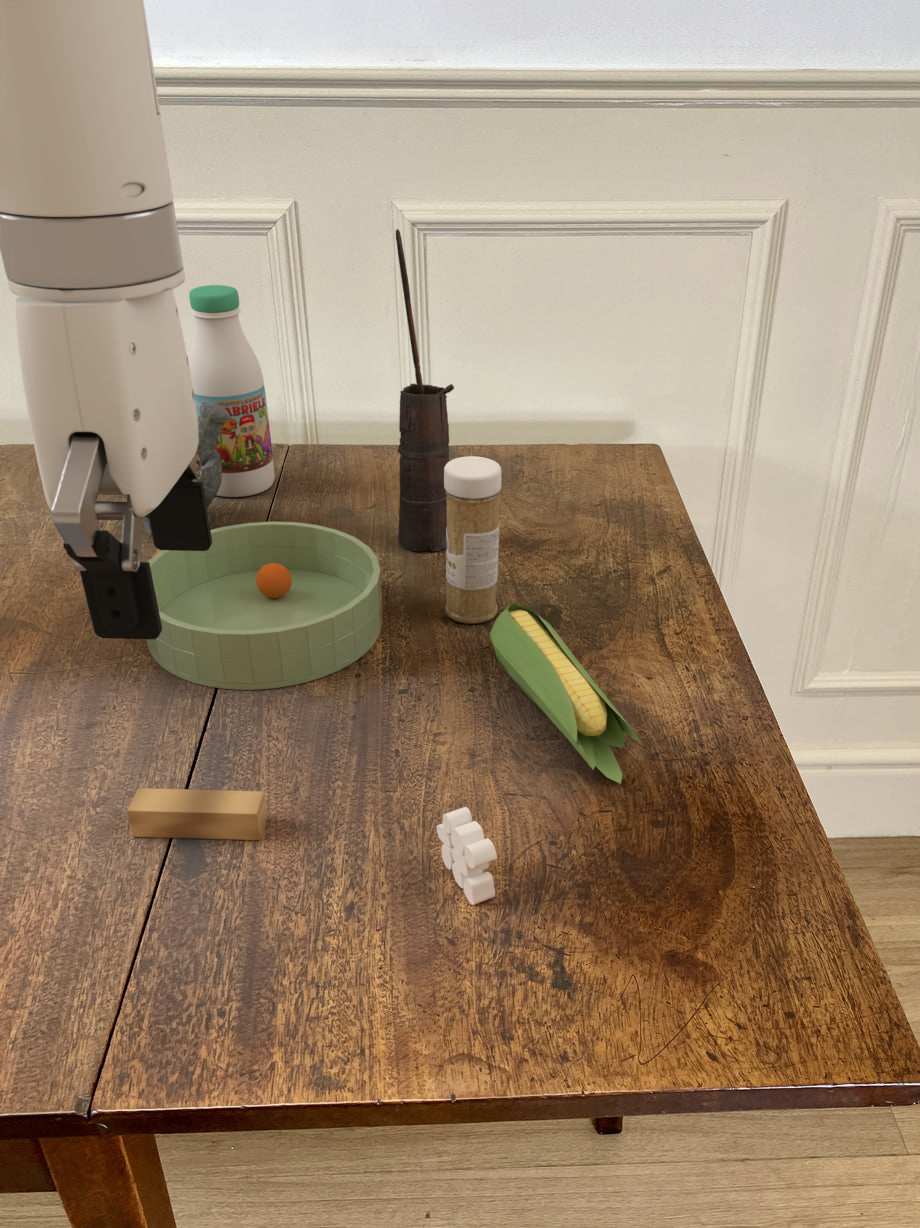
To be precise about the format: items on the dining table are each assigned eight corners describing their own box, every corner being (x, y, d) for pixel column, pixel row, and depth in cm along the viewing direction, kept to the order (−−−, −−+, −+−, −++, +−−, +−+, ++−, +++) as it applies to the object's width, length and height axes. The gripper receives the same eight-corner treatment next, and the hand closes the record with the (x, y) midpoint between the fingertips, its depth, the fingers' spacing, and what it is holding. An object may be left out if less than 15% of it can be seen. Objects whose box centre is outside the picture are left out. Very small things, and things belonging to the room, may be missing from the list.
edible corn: (534, 637, 86) (536, 589, 84) (654, 780, 71) (661, 726, 68) (476, 649, 84) (476, 600, 82) (586, 798, 69) (591, 743, 67)
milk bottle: (185, 487, 110) (154, 290, 99) (240, 465, 115) (216, 276, 104) (236, 505, 106) (209, 303, 95) (290, 482, 112) (271, 288, 100)
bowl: (113, 686, 79) (101, 630, 76) (183, 568, 95) (174, 518, 92) (367, 693, 79) (363, 637, 76) (393, 574, 95) (391, 524, 92)
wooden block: (132, 837, 65) (126, 810, 64) (143, 814, 67) (137, 787, 66) (260, 840, 65) (256, 813, 64) (267, 817, 67) (264, 790, 66)
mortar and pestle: (122, 550, 97) (97, 426, 91) (127, 509, 105) (104, 391, 98) (245, 539, 100) (230, 418, 93) (241, 500, 107) (226, 385, 101)
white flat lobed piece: (496, 901, 61) (497, 845, 59) (474, 909, 61) (475, 853, 58) (457, 849, 65) (457, 794, 62) (437, 857, 64) (436, 802, 62)
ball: (254, 604, 88) (250, 572, 87) (262, 587, 91) (258, 556, 89) (289, 605, 88) (286, 573, 87) (296, 588, 91) (293, 557, 89)
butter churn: (492, 524, 104) (497, 223, 89) (473, 566, 96) (475, 245, 81) (403, 515, 105) (393, 217, 90) (377, 556, 98) (361, 238, 82)
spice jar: (440, 602, 90) (438, 456, 83) (491, 597, 92) (493, 452, 84) (451, 629, 87) (450, 478, 79) (504, 623, 88) (508, 473, 80)
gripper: (78, 213, 53) (139, 519, 63) (-88, 293, 39) (23, 676, 48) (224, 216, 53) (263, 522, 63) (112, 297, 39) (184, 679, 48)
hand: (158, 589), depth 56 cm, fingers open, 9 cm apart
